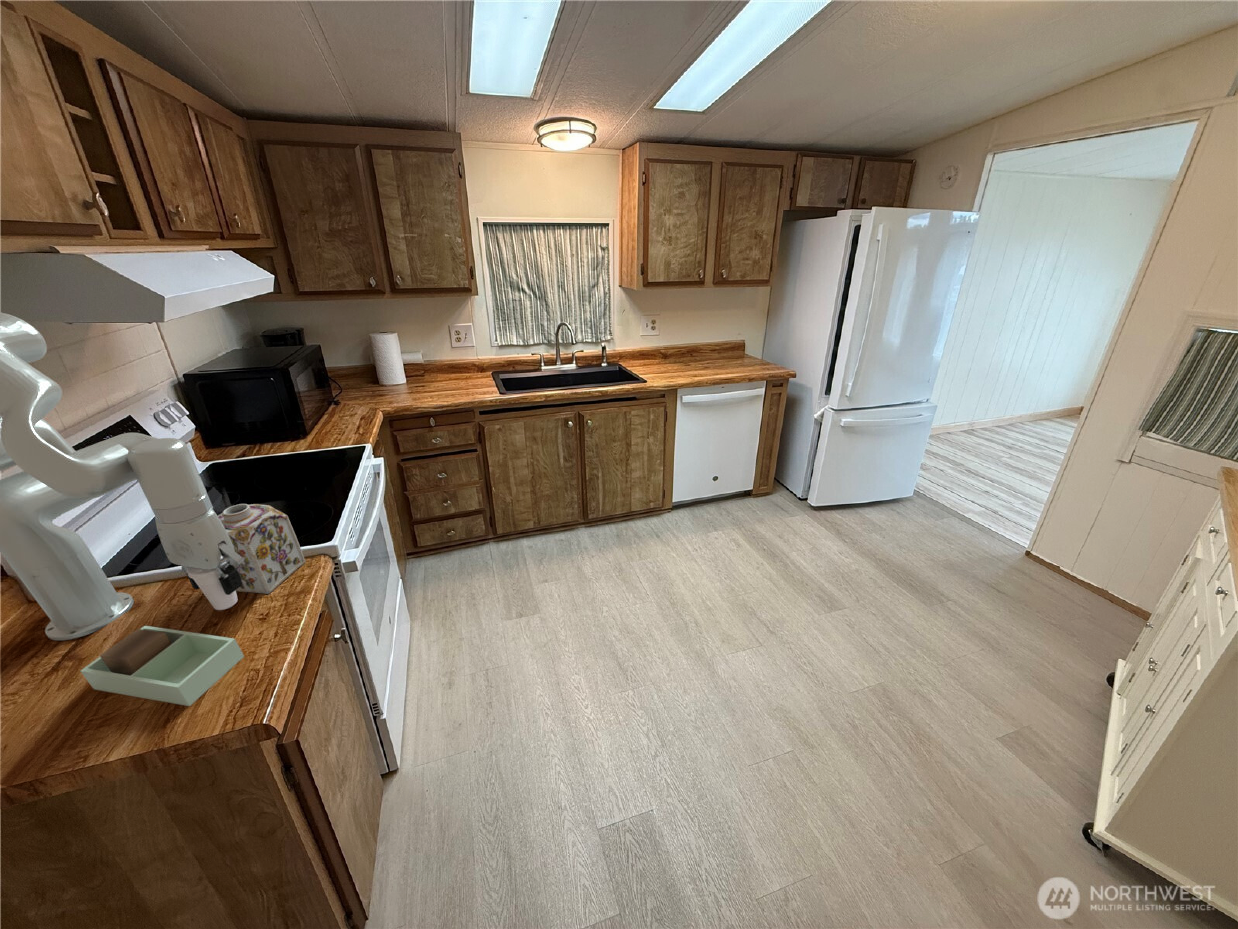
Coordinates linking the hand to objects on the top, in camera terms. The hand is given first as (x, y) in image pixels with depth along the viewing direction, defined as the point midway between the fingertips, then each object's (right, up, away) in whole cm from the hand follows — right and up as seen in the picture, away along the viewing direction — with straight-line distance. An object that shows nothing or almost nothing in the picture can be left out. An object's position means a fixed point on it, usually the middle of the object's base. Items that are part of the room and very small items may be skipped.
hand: (218, 586), depth 92 cm
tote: (-2, -14, -7) cm, 16 cm away
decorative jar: (-3, -2, +17) cm, 17 cm away
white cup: (0, -4, +2) cm, 4 cm away
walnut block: (-7, -13, -7) cm, 16 cm away
